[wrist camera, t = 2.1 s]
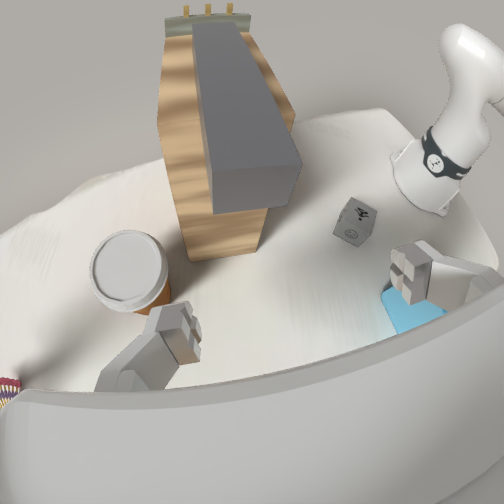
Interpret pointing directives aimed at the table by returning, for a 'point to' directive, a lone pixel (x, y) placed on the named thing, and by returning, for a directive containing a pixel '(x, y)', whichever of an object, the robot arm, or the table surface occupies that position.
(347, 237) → the dice cube
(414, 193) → the robot arm
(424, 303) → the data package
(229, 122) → the grey rectangular bar
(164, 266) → the disposable coffee cup
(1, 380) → the dna model
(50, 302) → the table surface
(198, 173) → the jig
